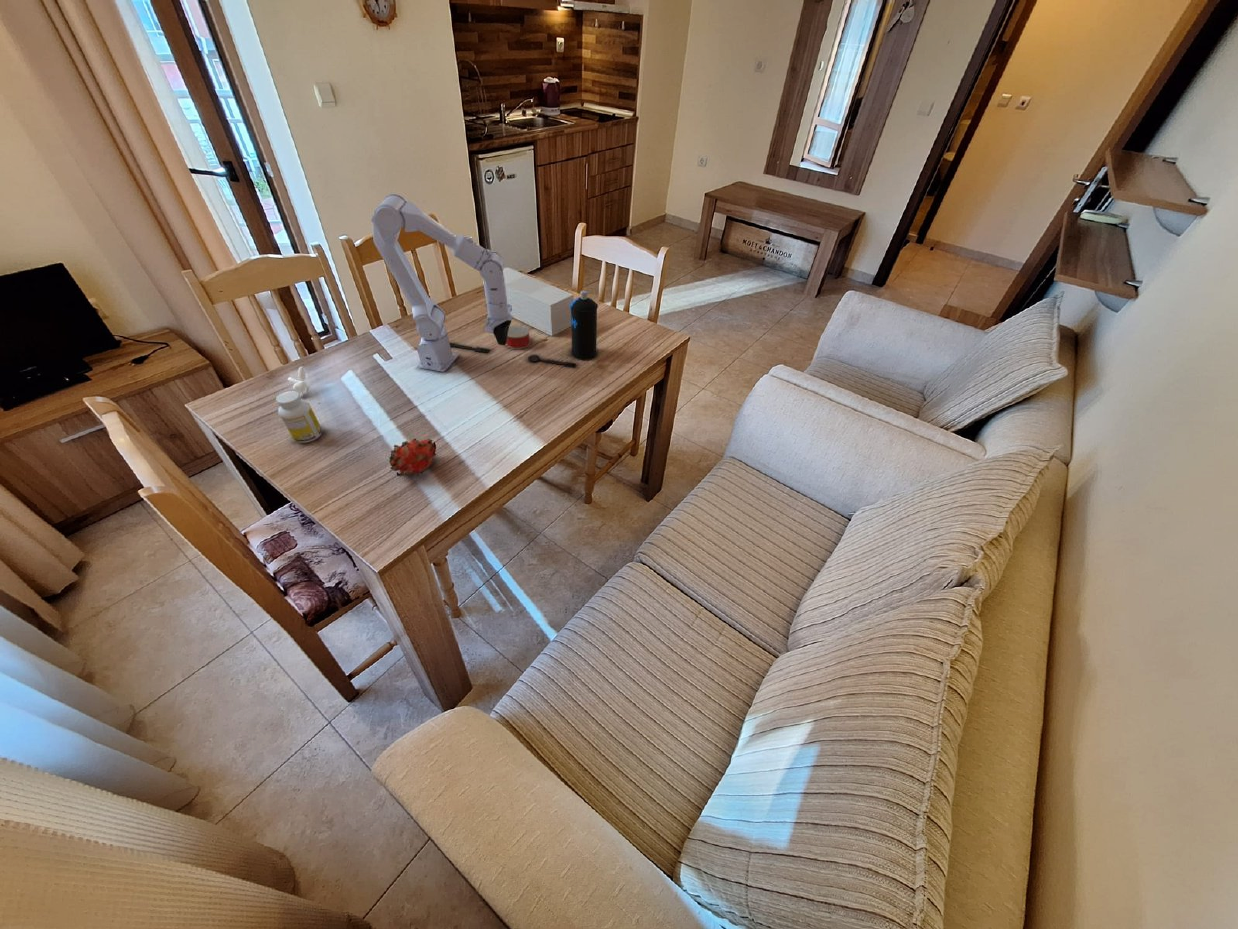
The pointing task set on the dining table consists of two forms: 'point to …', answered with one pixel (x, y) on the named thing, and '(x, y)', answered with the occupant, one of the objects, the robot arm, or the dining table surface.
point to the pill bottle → (298, 417)
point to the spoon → (550, 361)
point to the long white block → (537, 302)
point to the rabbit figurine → (299, 382)
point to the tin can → (518, 337)
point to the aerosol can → (584, 327)
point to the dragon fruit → (412, 456)
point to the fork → (470, 348)
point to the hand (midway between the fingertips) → (502, 343)
